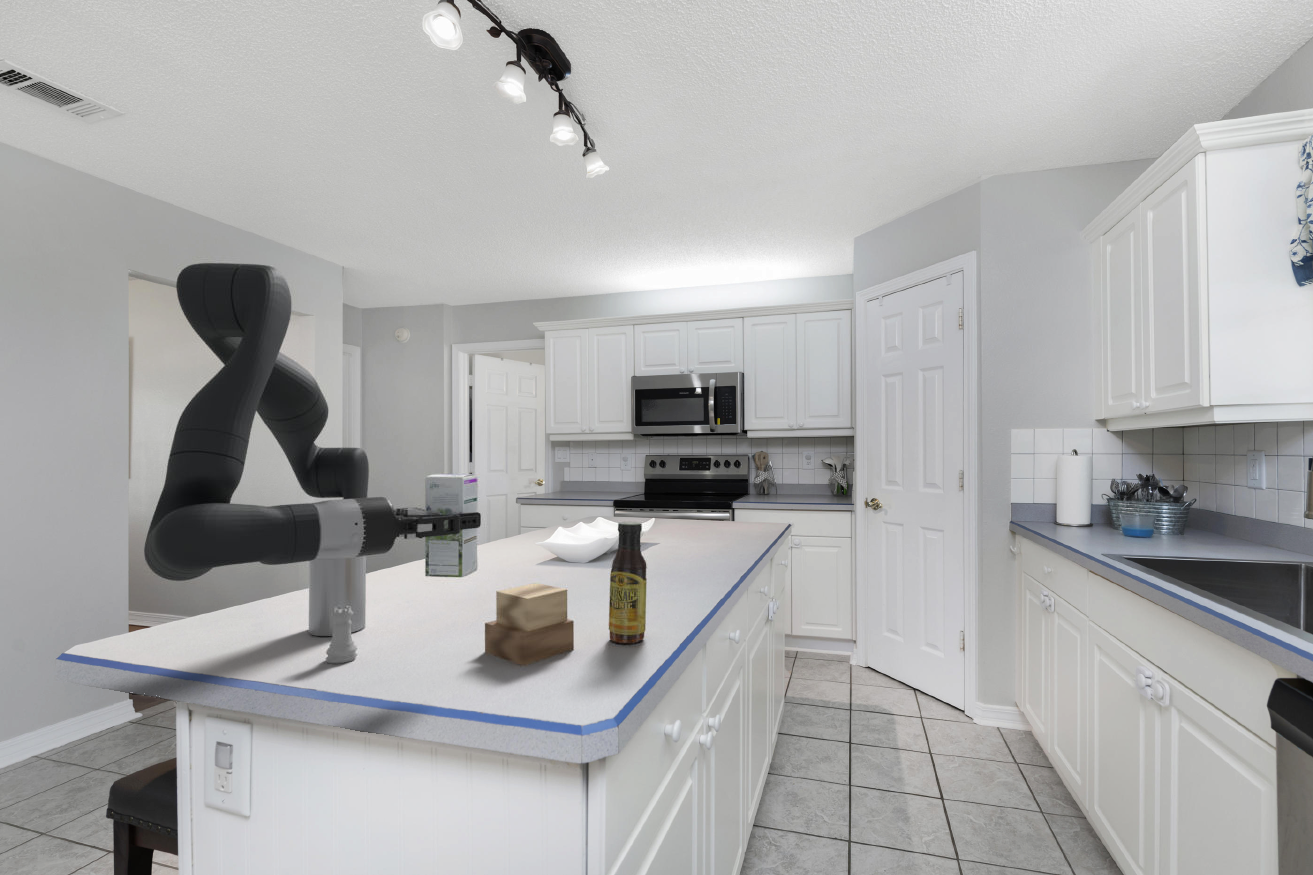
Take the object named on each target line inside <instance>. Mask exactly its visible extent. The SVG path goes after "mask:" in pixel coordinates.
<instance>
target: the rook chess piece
mask: <svg viewBox="0 0 1313 875" xmlns="http://www.w3.org/2000/svg"><path fill="white" fill-rule="evenodd" d="M352 615H353V612H352V610H351V607H348V606H345V609H342V606H340V607H338V610H337V608H336V607H335V608H334V609H333V612H332V614H331V615H330V616H331V617H332V619H333V624H332V626H333V636H331V641H330V644H329V647H328V648H327V650H326V651H325V654H326V655H327V656H326V658H325V660H326V662H328V663H329V664H331V665H338V664H346V663H349V662H352V661H355V659H356V658H357V656H358V653H357V650H358V647H357V645H356V644H355V641H354V639H353V637H352V632H351V624H352V622H351V621H350V618H351V616H352Z"/></svg>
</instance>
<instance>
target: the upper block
mask: <svg viewBox="0 0 1313 875" xmlns="http://www.w3.org/2000/svg"><path fill="white" fill-rule="evenodd" d="M495 594H496V596H495V598H496V600H495V601H496V604H495V607H496V611H495V612H496V613H495V614H496V617H495V618H496V623H499V624H503V625H506V626H510V627H513V628H517V629H520V630H524V631H527V632H528V631H532V630H535V629H539V628H542V627H546V626H549V625H553V624H557V623H560V622H564V621H567V619H568V589H567V588H561V587H557V586H551V585H548V584H542V583H537V582H535V583H531V584H530V583H529V584H525V585H520V586H516V587H511V588H506V589H500V590H496V593H495Z"/></svg>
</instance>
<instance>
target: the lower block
mask: <svg viewBox="0 0 1313 875" xmlns="http://www.w3.org/2000/svg"><path fill="white" fill-rule="evenodd" d="M574 622H575V621H574V620H572V619H569V618H567V621H564V622H560V623H557V624H553V625H549V626H546V627H542V628H539V629H535V630H532V631H528V632H527V631H524V630H520V629H517V628H513V627H510V626H506V625H503V624H499V623H496V620H491V621H488V622H485V623H484V653H486V654H488V655H491V656H494V657H496V658H499V659H502V660H505V661H508V662H511V663H513V664H516V665H519V666H522V667H524V666H527V665H531V664H534V663H537V662H539V661H543V660H546V659H549V658H552V657H555V656H558V655H561V654H564V653H567V651H568V652H571V651H574V648H575V645H574V642H575V641H574V634H575V633H574V628H575V627H574V625H575V624H574ZM570 650H571V651H570Z"/></svg>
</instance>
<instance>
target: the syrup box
mask: <svg viewBox="0 0 1313 875" xmlns="http://www.w3.org/2000/svg"><path fill="white" fill-rule="evenodd" d="M478 478H479V477H478V474H474V473H435V474H434V473H433V474H430V475H426V476H425V487H424V489H425V494H424V495H425V499H424V500H425V502H424V503H425V506H424V507H425V508H424V509H425V510H438V511H439V512H440V513H441V514H451V513H455V514H459V513H471V512H478V501H479V500H478V498H479V496H478V492H479V491H478V490H479V489H478V487H479V486H478V480H479V479H478ZM430 517H432V516H431V515H430ZM444 528H448V520H445V521H444ZM424 539H425V542H424V543H425V544H424V545H425V546H424V550H425V551H424V553H425V554H424V555H425V557H424V558H425V561H424V562H425V565H424V574H425V577H431V578H432V577H433V578H464V577H468V576H469V575H471V574H473V573H475V572H476V571H478V566H479V565H478V563H479V562H478V528H473V529H463V530H460V533H459V534H456V535H453V534H450V535H440V536H431V537H424Z"/></svg>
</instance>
